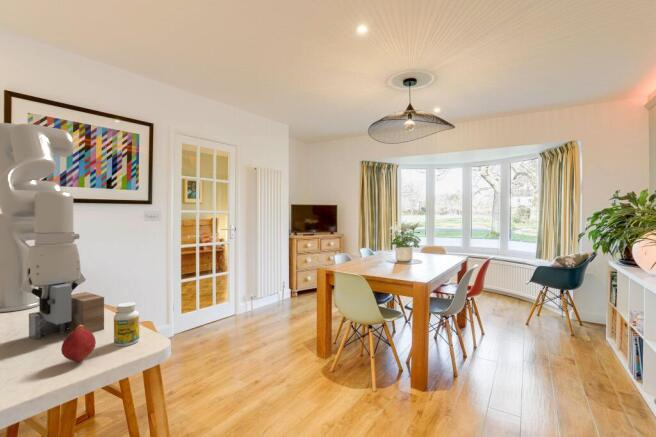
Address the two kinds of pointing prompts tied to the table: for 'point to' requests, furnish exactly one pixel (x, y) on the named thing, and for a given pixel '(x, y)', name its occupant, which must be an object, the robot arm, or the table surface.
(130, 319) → the supplement bottle
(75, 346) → the onion
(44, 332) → the gray wooden bench
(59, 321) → the pale blue tall prism
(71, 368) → the table surface
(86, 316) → the brown tall rectangular block
